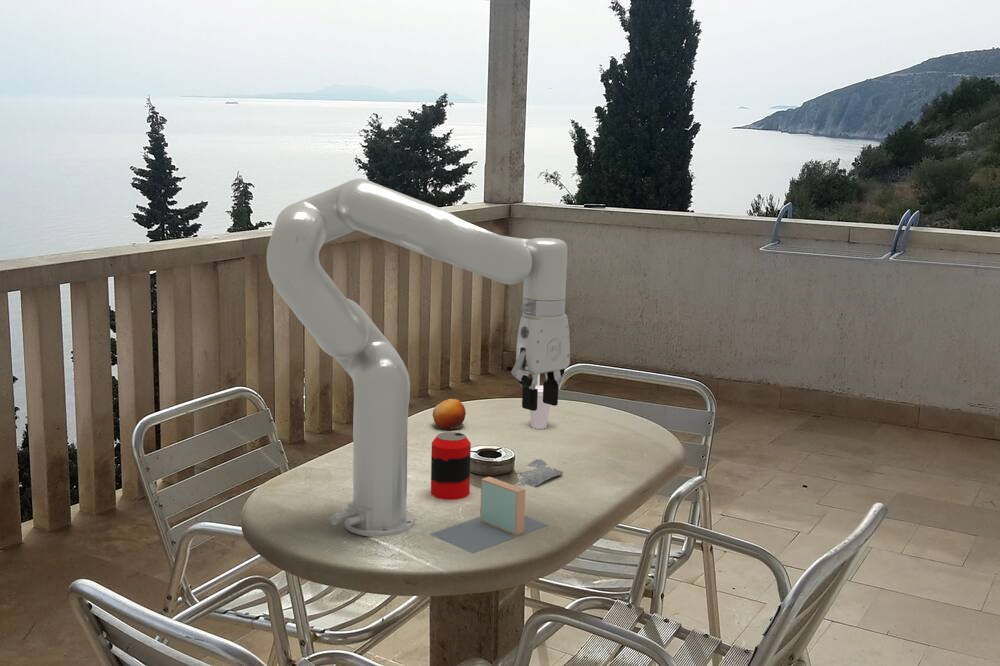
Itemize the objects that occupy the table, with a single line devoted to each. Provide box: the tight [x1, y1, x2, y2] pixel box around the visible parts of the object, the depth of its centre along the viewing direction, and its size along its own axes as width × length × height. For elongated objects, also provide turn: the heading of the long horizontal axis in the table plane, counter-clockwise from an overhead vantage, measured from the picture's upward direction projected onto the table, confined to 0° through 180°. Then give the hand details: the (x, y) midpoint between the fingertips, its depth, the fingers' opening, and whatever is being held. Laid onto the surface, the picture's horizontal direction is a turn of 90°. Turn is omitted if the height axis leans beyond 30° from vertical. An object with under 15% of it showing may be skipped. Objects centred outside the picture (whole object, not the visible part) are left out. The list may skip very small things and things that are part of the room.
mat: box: [429, 515, 549, 554], centre depth 179 cm, size 19×11×1 cm, turn 136°
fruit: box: [432, 398, 467, 431], centre depth 243 cm, size 8×8×8 cm
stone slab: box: [515, 458, 563, 488], centre depth 210 cm, size 18×2×10 cm
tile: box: [479, 476, 526, 535], centre depth 180 cm, size 2×9×8 cm, turn 45°
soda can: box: [430, 431, 472, 501], centre depth 196 cm, size 8×8×12 cm
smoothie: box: [529, 374, 551, 430], centre depth 245 cm, size 6×6×14 cm
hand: (539, 405), depth 183 cm, fingers open, 4 cm apart
